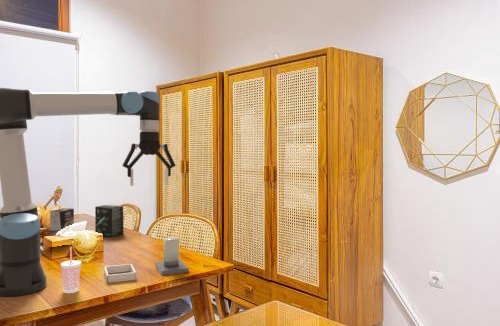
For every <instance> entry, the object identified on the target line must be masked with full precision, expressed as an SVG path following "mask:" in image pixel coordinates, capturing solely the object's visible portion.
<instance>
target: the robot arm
mask: <svg viewBox="0 0 500 326" xmlns="http://www.w3.org/2000/svg"><path fill="white" fill-rule="evenodd" d="M160 106H161V103H160V93H158V92H157V91H151V90H150V91H149V90H148V91H147V90H143V91H140V93H139V92H138V91H134V90H128V91H116V92H114V91H103V92H102V91H101V92H99V91H95V92H93V91H91V92H90V91H88V92H87V91H86V92H85V91H84V92H83V91H82V92H79V91H78V92H77V91H76V92H69V91H68V92H33V90H31V89H21V88H20V89H19V88H9V87H0V187H1V188H0V189H1V197H2V205H3V206H2V207H1V208H0V297H17V296H18V297H20V296H24V295H30V294H34V293H36V292H39V291H42V290H43V289H45V287H47V277H46V274H45V271H44V268H43V265H42V264H41V227H42V225H41V222H40V221H41V220H40V217H39V213H38V205H36V204H35V203H33V201H32V195H31V187H30V179H29V178H30V177H29V171H28V163H27V155H26V154H27V153H26V147H25V146H26V145H25V138H24V134H25V133H26V132H27V130H28V124H27V123H28V122H27V121H28V120H29V121H32V120H35V118H36V117H51V116H52V117H57V116H58V117H59V116H60V117H61V116H82V115H84V116H86V115H87V116H88V115H116V116H139V130H140V132H139V143H135V142H134V143H131V146H130V150H129V152H128V153H127V155H126V158H125V160H124V161H123V164H122V167H123V168H126V169H127V177H128V178H130V179H129V182H130V183H129V184H130V186H132V187H133V186H134V168H133V166H134V165H135V164H136V163H138V161H139V160H140V159H141V157H143V156H144V155H145V156H149V155H151V156H154V155H155V156H157V157H158V158H159V160H160V161H161V163H163V164H164V166H165V167H164V185H166V186H168V185H169V177H171V174H172V173H171V171H172V168H175V167H176V163H175V161H174V159H173V157H172V155H171V153H170V151H169V149H168V148H169V147H168V144H167V143H163V144H161V143H160V132H159V131H160ZM138 148H139V150H140V151H139V152H138V154H137V155H136V156H134V158H133V159H132V161H131V162H130V160H131V158H132V157H133V154H134V152H135V150H137V149H138ZM160 149H162V150H163V151H164V154H165V156H166V157H167V160H168V161H167V160H166V158H165V157H164V155H162V154H161V152H160V151H159V150H160ZM129 162H130V163H129Z"/></svg>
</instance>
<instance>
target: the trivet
mask: <svg viewBox="0 0 500 326" xmlns="http://www.w3.org/2000/svg"><path fill="white" fill-rule="evenodd" d="M154 266H155V269H156V270H157V271H158V272H159V273H160V275H161V276H166V275H168V276H169V275H175V274H184V273H189V272H190V270H189V269H190V268H189V267H188V266H187V265H186V264H185V263H184V261H182V260H181V259H179V266H177V267H165V266H164V260H163V261H154Z"/></svg>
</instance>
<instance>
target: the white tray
mask: <svg viewBox="0 0 500 326" xmlns="http://www.w3.org/2000/svg"><path fill="white" fill-rule="evenodd" d="M103 269H104V270H103V272H104V278H105V281H106V283H107V284H109V283H118V282H126V281H134V280H137V271H136V270H135V268H134V265H133V264H132V263H127V264H118V265H117V264H116V265H106V266H104V267H103ZM122 272H123V273H122Z"/></svg>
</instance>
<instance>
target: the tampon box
mask: <svg viewBox="0 0 500 326" xmlns="http://www.w3.org/2000/svg"><path fill="white" fill-rule="evenodd" d="M94 208H95V209H94V210H95V211H94V213H95V215H94V217H95V219H94V221H95V222H94V223H95V227H94V229H95V230H94V232H98V233H102V234H103V235H104V236H103V237H106V238H107V237H108V238H111V237H115V236H121V235H124V234H125V233H124V206H122V205H114V204H103V205H99V206H98V205H97V206H95V207H94Z"/></svg>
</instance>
